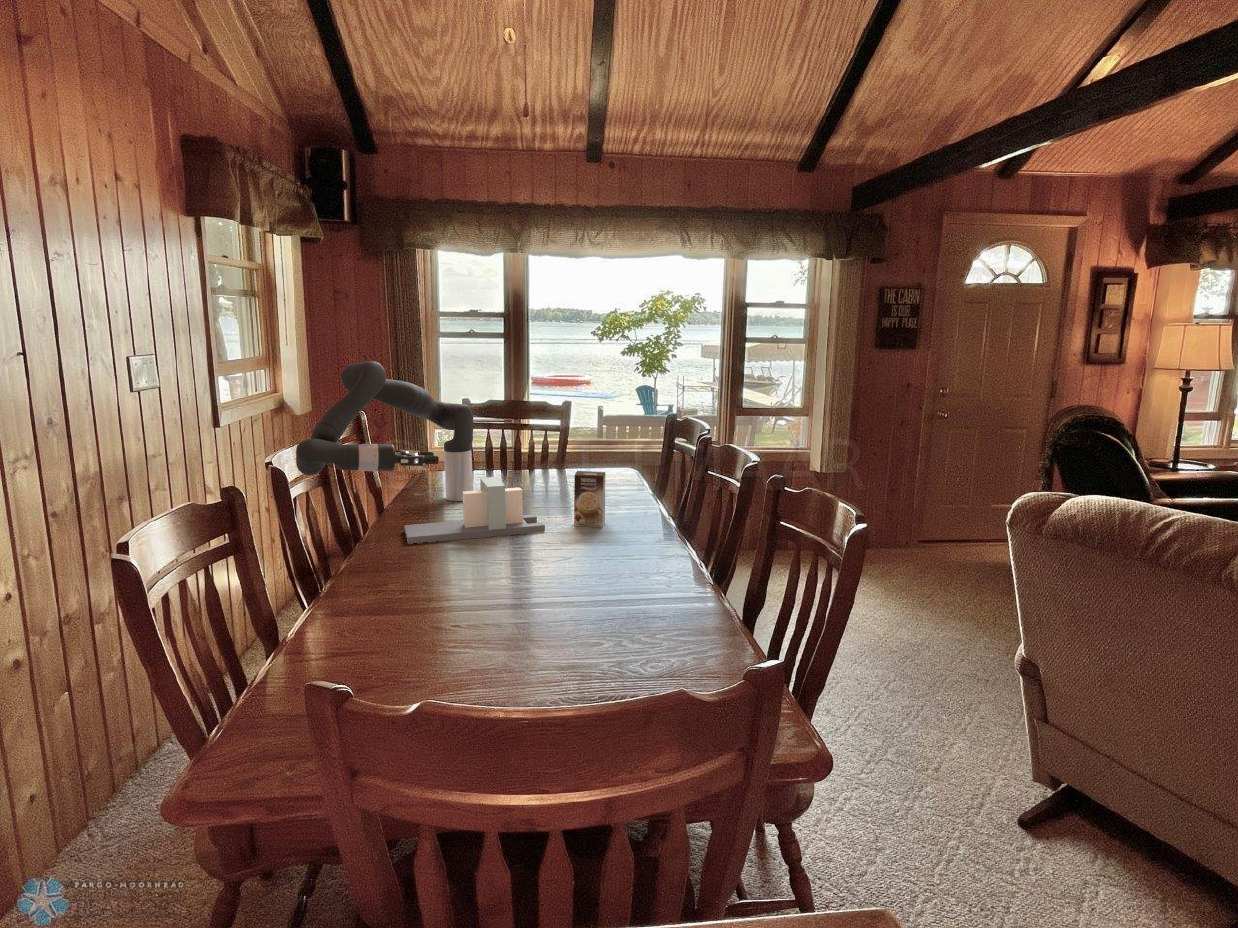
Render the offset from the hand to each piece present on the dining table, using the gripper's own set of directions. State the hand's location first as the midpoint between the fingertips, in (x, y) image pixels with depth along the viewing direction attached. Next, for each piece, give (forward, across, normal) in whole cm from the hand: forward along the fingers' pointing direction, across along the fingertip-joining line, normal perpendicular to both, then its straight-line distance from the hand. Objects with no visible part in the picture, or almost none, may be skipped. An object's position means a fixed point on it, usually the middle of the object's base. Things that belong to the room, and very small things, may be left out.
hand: (435, 457), depth 205 cm
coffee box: (+46, -4, +20) cm, 51 cm away
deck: (+12, +1, +22) cm, 25 cm away
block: (+17, 0, +20) cm, 26 cm away
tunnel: (+17, 0, +20) cm, 26 cm away
